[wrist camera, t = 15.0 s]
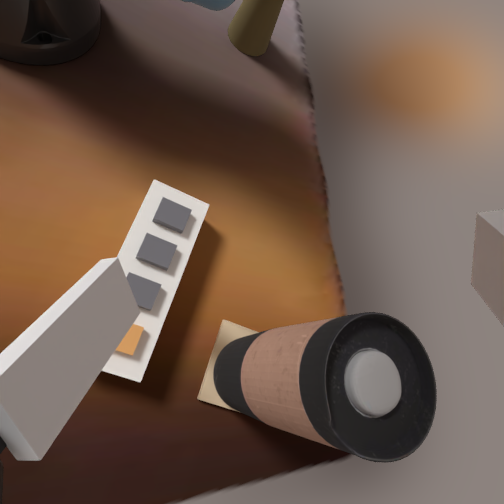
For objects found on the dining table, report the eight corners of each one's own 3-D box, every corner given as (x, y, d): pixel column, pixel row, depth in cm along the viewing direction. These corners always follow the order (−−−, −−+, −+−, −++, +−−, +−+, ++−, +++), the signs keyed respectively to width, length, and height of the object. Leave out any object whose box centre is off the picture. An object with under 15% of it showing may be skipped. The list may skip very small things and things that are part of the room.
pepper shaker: (271, 58, 51) (311, -14, 41) (232, 53, 48) (264, -26, 39) (262, 24, 52) (299, -54, 42) (224, 16, 50) (253, -68, 40)
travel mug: (278, 335, 39) (427, 312, 21) (281, 411, 37) (449, 457, 19) (210, 334, 36) (316, 306, 18) (208, 416, 34) (327, 475, 16)
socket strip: (149, 194, 38) (155, 174, 34) (201, 216, 40) (211, 201, 36) (71, 360, 31) (66, 360, 28) (137, 380, 33) (141, 383, 29)
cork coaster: (222, 320, 38) (224, 319, 37) (287, 344, 40) (290, 344, 39) (197, 399, 34) (198, 399, 34) (269, 421, 36) (271, 421, 36)
